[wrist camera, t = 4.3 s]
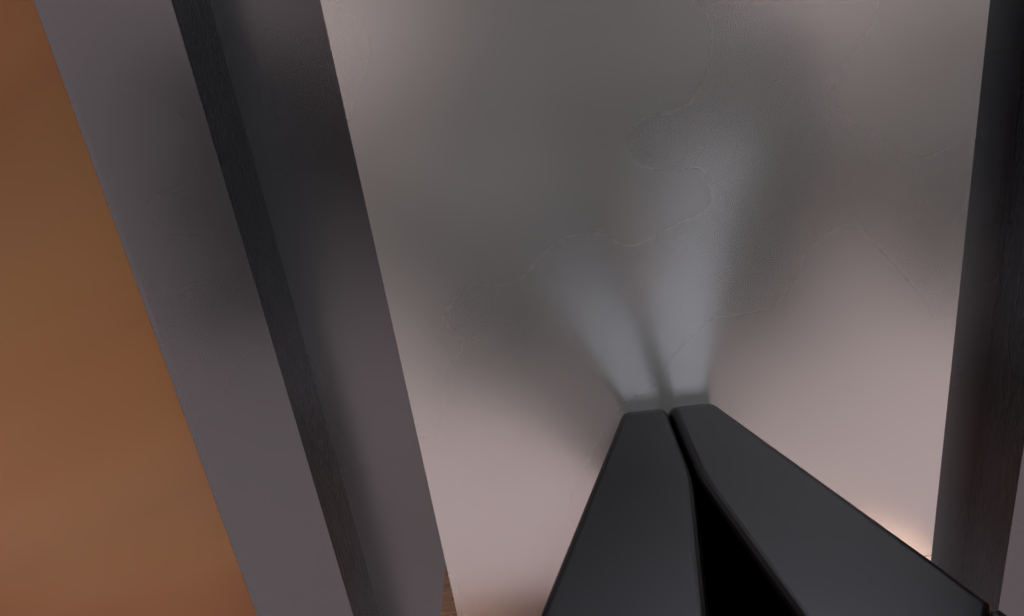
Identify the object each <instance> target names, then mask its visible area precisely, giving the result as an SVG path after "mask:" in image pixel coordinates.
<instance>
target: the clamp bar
mask: <svg viewBox="0 0 1024 616" xmlns="http://www.w3.org/2000/svg"><path fill="white" fill-rule="evenodd" d="M320 2H321V6H322V11H323V15H324V20H325V24H326V29H327V33H328V38H329V42H330V47H331V51H332V56H333V60H334V64H335V69H336V73H337V78H338V82H339V87H340V91H341V96H342V100H343V105H344V109H345V114H346V118H347V123H348V127H349V132H350V136H351V141H352V145H353V150H354V154H355V159H356V163H357V168H358V172H359V177H360V181H361V186H362V190H363V194H364V199H365V203H366V208H367V212H368V217H369V221H370V226H371V230H372V235H373V239H374V244H375V248H376V253H377V257H378V262H379V266H380V271H381V275H382V280H383V284H384V289H385V293H386V298H387V302H388V307H389V311H390V316H391V320H392V324H393V329H394V333H395V338H396V342H397V347H398V351H399V356H400V360H401V365H402V369H403V374H404V378H405V383H406V387H407V392H408V396H409V401H410V405H411V410H412V414H413V419H414V423H415V428H416V432H417V437H418V441H419V445H420V450H421V454H422V459H423V463H424V468H425V472H426V477H427V481H428V486H429V490H430V495H431V499H432V504H433V508H434V513H435V517H436V522H437V526H438V531H439V535H440V540H441V544H442V549H443V553H444V558H445V562H446V566H447V571H448V575H449V580H450V584H451V589H452V593H453V598H454V602H455V607H456V611H457V616H541V613H542V611H543V608H544V606H545V604H546V601H547V599H548V596H549V594H550V591H551V589H552V586H553V584H554V582H555V579H556V577H557V574H558V572H559V569H560V567H561V564H562V562H563V559H564V557H565V555H566V552H567V550H568V547H569V545H570V542H571V540H572V537H573V535H574V532H575V530H576V528H577V525H578V523H579V520H580V518H581V515H582V513H583V510H584V508H585V506H586V503H587V501H588V498H589V496H590V493H591V491H592V488H593V486H594V483H595V481H596V479H597V476H598V474H599V471H600V469H601V466H602V464H603V461H604V459H605V456H606V454H607V452H608V449H609V447H610V444H611V442H612V439H613V437H614V434H615V432H616V430H617V427H618V425H619V422H620V420H621V418H622V416H623V415H624V414H625V413H628V412H636V411H645V410H654V409H661V410H664V411H665V412H666V413H667V415H668V417H669V414H670V411H671V410H672V409H673V408H675V407H681V406H689V405H698V404H706V403H708V404H713V405H715V406H716V407H718V408H719V409H721V410H722V411H723V412H725V413H726V414H728V415H729V416H730V417H732V418H733V419H735V420H736V421H737V422H739V423H740V424H741V425H743V426H744V427H746V428H747V429H748V430H750V431H751V432H753V433H754V434H755V435H757V436H758V437H760V438H761V439H762V440H764V441H765V442H766V443H768V444H769V445H771V446H772V447H773V448H775V449H776V450H778V451H779V452H780V453H782V454H783V455H784V456H786V457H787V458H789V459H790V460H791V461H793V462H794V463H796V464H797V465H798V466H800V467H801V468H803V469H804V470H805V471H807V472H808V473H809V474H811V475H812V476H814V477H815V478H816V479H818V480H819V481H821V482H822V483H823V484H825V485H826V486H827V487H829V488H830V489H832V490H833V491H834V492H836V493H837V494H839V495H840V496H841V497H843V498H844V499H845V500H847V501H848V502H850V503H851V504H852V505H854V506H855V507H857V508H858V509H859V510H861V511H862V512H864V513H865V514H866V515H868V516H869V517H870V518H872V519H873V520H875V521H876V522H877V523H879V524H880V525H882V526H883V527H884V528H886V529H887V530H888V531H890V532H891V533H893V534H894V535H895V536H897V537H898V538H900V539H901V540H902V541H904V542H905V543H907V544H908V545H909V546H911V547H912V548H913V549H915V550H916V551H918V552H919V553H920V554H922V555H923V556H925V557H926V558H927V559H929V560H930V561H931V554H932V545H933V535H934V526H935V516H936V507H937V497H938V488H939V478H940V469H941V459H942V450H943V441H944V431H945V422H946V412H947V403H948V393H949V384H950V374H951V365H952V355H953V346H954V336H955V327H956V317H957V308H958V299H959V289H960V280H961V270H962V261H963V251H964V242H965V232H966V223H967V213H968V204H969V194H970V185H971V175H972V166H973V157H974V147H975V138H976V128H977V119H978V109H979V100H980V90H981V81H982V71H983V62H984V52H985V43H986V33H987V24H988V14H989V5H990V0H320Z"/></svg>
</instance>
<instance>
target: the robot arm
mask: <svg viewBox="0 0 1024 616" xmlns="http://www.w3.org/2000/svg"><path fill="white" fill-rule="evenodd" d="M990 610H991V606H990V604H989V603H988V602H987V601H986V600H984V599H983V598H981V597H980V596H979V595H977V594H976V593H974V592H973V591H972V590H970V589H969V588H968V587H966V586H965V585H963V584H962V583H961V582H959V581H958V580H956V579H955V578H954V577H952V576H951V575H949V574H948V573H947V572H945V571H944V570H943V569H941V568H940V567H938V566H937V565H936V564H934V563H933V562H931V561H930V560H929V559H927V558H926V557H925V556H923V555H922V554H920V553H919V552H918V551H916V550H915V549H913V548H912V547H911V546H909V545H908V544H907V543H905V542H904V541H902V540H901V539H900V538H898V537H897V536H895V535H894V534H893V533H891V532H890V531H888V530H887V529H886V528H884V527H883V526H882V525H880V524H879V523H877V522H876V521H875V520H873V519H872V518H870V517H869V516H868V515H866V514H865V513H864V512H862V511H861V510H859V509H858V508H857V507H855V506H854V505H852V504H851V503H850V502H848V501H847V500H845V499H844V498H843V497H841V496H840V495H839V494H837V493H836V492H834V491H833V490H832V489H830V488H829V487H827V486H826V485H825V484H823V483H822V482H821V481H819V480H818V479H816V478H815V477H814V476H812V475H811V474H809V473H808V472H807V471H805V470H804V469H803V468H801V467H800V466H798V465H797V464H796V463H794V462H793V461H791V460H790V459H789V458H787V457H786V456H784V455H783V454H782V453H780V452H779V451H778V450H776V449H775V448H773V447H772V446H771V445H769V444H768V443H766V442H765V441H764V440H762V439H761V438H760V437H758V436H757V435H755V434H754V433H753V432H751V431H750V430H748V429H747V428H746V427H744V426H743V425H741V424H740V423H739V422H737V421H736V420H735V419H733V418H732V417H730V416H729V415H728V414H726V413H725V412H723V411H722V410H721V409H719V408H718V407H716V406H715V405H713V404H708V403H706V404H698V405H689V406H681V407H675V408H673V409H672V410H671V411H670V414H669V417H668V415H667V413H666V412H665V411H664V410H661V409H654V410H645V411H636V412H628V413H625V414H624V415H623V416H622V418H621V420H620V422H619V425H618V427H617V430H616V432H615V434H614V437H613V439H612V442H611V444H610V447H609V449H608V452H607V454H606V456H605V459H604V461H603V464H602V466H601V469H600V471H599V474H598V476H597V479H596V481H595V483H594V486H593V488H592V491H591V493H590V496H589V498H588V501H587V503H586V506H585V508H584V510H583V513H582V515H581V518H580V520H579V523H578V525H577V528H576V530H575V532H574V535H573V537H572V540H571V542H570V545H569V547H568V550H567V552H566V555H565V557H564V559H563V562H562V564H561V567H560V569H559V572H558V574H557V577H556V579H555V582H554V584H553V586H552V589H551V591H550V594H549V596H548V599H547V601H546V604H545V606H544V608H543V611H542V613H541V616H1007V615H1006V614H1004V613H1003V612H1001V611H1000V610H993V611H991V613H990Z"/></svg>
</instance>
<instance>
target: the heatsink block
mask: <svg viewBox="0 0 1024 616" xmlns="http://www.w3.org/2000/svg"><path fill="white" fill-rule="evenodd" d="M34 3H35V6H36V8H37V11H38V14H39V17H40V19H41V22H42V25H43V28H44V30H45V33H46V36H47V39H48V41H49V44H50V47H51V50H52V52H53V55H54V58H55V61H56V63H57V66H58V69H59V72H60V74H61V77H62V80H63V83H64V85H65V88H66V91H67V94H68V96H69V99H70V102H71V105H72V107H73V110H74V113H75V116H76V118H77V121H78V124H79V127H80V129H81V132H82V135H83V138H84V140H85V143H86V146H87V149H88V152H89V154H90V157H91V160H92V163H93V165H94V168H95V171H96V174H97V176H98V179H99V182H100V185H101V187H102V190H103V193H104V196H105V198H106V201H107V204H108V207H109V209H110V212H111V215H112V218H113V220H114V223H115V226H116V229H117V231H118V234H119V237H120V240H121V242H122V245H123V248H124V251H125V253H126V256H127V259H128V262H129V264H130V267H131V270H132V273H133V275H134V278H135V281H136V284H137V286H138V289H139V292H140V295H141V297H142V300H143V303H144V306H145V308H146V311H147V314H148V317H149V319H150V322H151V325H152V328H153V330H154V333H155V336H156V339H157V341H158V344H159V347H160V350H161V352H162V355H163V358H164V361H165V363H166V366H167V369H168V372H169V374H170V377H171V380H172V383H173V386H174V388H175V391H176V394H177V397H178V399H179V402H180V405H181V408H182V410H183V413H184V416H185V419H186V421H187V424H188V427H189V430H190V432H191V435H192V438H193V441H194V443H195V446H196V449H197V452H198V454H199V457H200V460H201V463H202V465H203V468H204V471H205V474H206V476H207V479H208V482H209V485H210V487H211V490H212V493H213V496H214V498H215V501H216V504H217V507H218V509H219V512H220V515H221V518H222V520H223V523H224V526H225V529H226V531H227V534H228V537H229V540H230V542H231V545H232V548H233V551H234V553H235V556H236V559H237V562H238V564H239V567H240V570H241V573H242V575H243V578H244V581H245V584H246V586H247V589H248V592H249V595H250V597H251V600H252V603H253V606H254V608H255V611H256V614H257V616H457V611H456V607H455V602H454V598H453V593H452V589H451V584H450V580H449V575H448V571H447V566H446V562H445V558H444V553H443V549H442V544H441V540H440V535H439V531H438V526H437V522H436V517H435V513H434V508H433V504H432V499H431V495H430V490H429V486H428V481H427V477H426V472H425V468H424V463H423V459H422V454H421V450H420V445H419V441H418V437H417V432H416V428H415V423H414V419H413V414H412V410H411V405H410V401H409V396H408V392H407V387H406V383H405V378H404V374H403V369H402V365H401V360H400V356H399V351H398V347H397V342H396V338H395V333H394V329H393V324H392V320H391V316H390V311H389V307H388V302H387V298H386V293H385V289H384V284H383V280H382V275H381V271H380V266H379V262H378V257H377V253H376V248H375V244H374V239H373V235H372V230H371V226H370V221H369V217H368V212H367V208H366V203H365V199H364V194H363V190H362V186H361V181H360V177H359V172H358V168H357V163H356V159H355V154H354V150H353V145H352V141H351V136H350V132H349V127H348V123H347V118H346V114H345V109H344V105H343V100H342V96H341V91H340V87H339V82H338V78H337V73H336V69H335V64H334V60H333V56H332V51H331V47H330V42H329V38H328V33H327V29H326V24H325V20H324V15H323V11H322V6H321V2H320V0H34ZM931 562H933V563H934V564H936V565H937V566H938V567H940V568H941V569H943V570H944V571H945V572H947V573H948V574H949V575H951V576H952V577H954V578H955V579H956V580H958V581H959V582H961V583H962V584H963V585H965V586H966V587H968V588H969V589H970V590H972V591H973V592H974V593H976V594H977V595H979V596H980V597H981V598H983V599H984V600H986V601H987V602H988V603H989V604H990V606H991V610H990V613H991V611H993V610H1000V611H1001V612H1003V613H1004V614H1006V615H1007V616H1024V0H990V5H989V14H988V24H987V33H986V43H985V52H984V62H983V71H982V81H981V90H980V100H979V109H978V119H977V128H976V138H975V147H974V157H973V166H972V175H971V185H970V194H969V204H968V213H967V223H966V232H965V242H964V251H963V261H962V270H961V280H960V289H959V299H958V308H957V317H956V327H955V336H954V346H953V355H952V365H951V374H950V384H949V393H948V403H947V412H946V422H945V431H944V441H943V450H942V459H941V469H940V478H939V488H938V497H937V507H936V516H935V526H934V535H933V545H932V554H931Z"/></svg>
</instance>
